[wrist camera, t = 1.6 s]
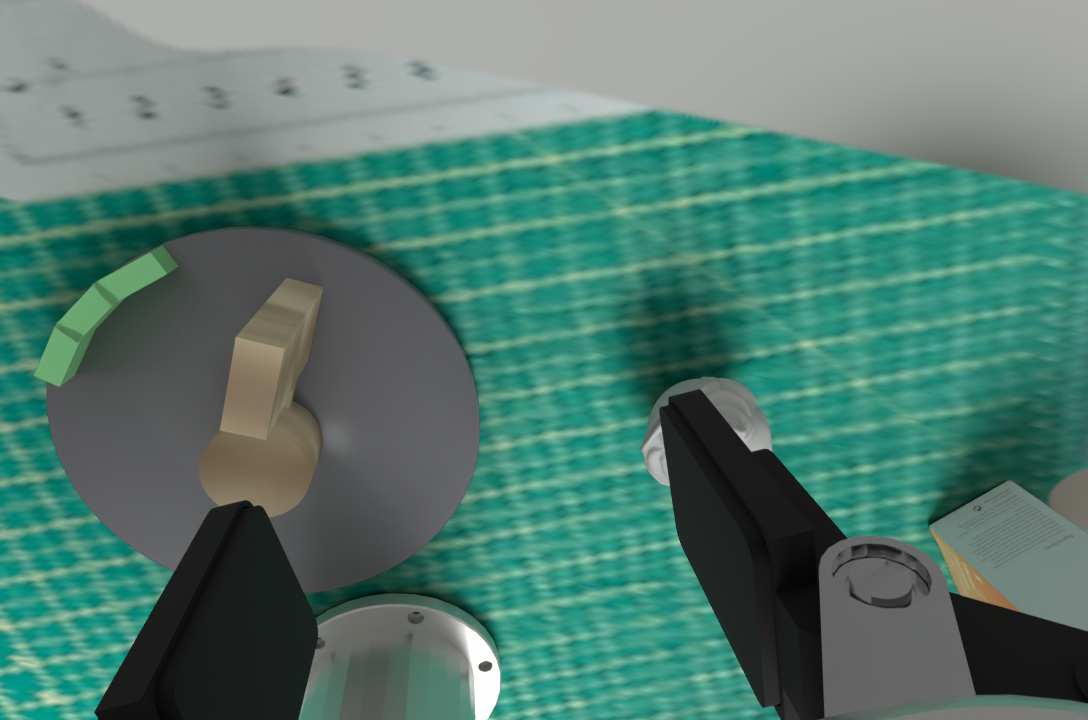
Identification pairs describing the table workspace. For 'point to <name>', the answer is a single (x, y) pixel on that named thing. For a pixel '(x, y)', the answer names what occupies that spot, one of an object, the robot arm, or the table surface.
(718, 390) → the grey rounded lump
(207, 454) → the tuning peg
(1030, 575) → the small box
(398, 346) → the dial face
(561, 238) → the table surface
